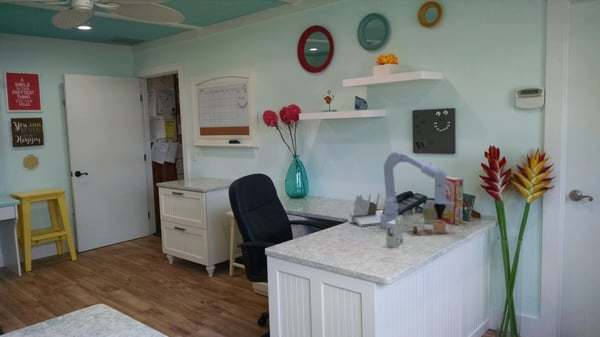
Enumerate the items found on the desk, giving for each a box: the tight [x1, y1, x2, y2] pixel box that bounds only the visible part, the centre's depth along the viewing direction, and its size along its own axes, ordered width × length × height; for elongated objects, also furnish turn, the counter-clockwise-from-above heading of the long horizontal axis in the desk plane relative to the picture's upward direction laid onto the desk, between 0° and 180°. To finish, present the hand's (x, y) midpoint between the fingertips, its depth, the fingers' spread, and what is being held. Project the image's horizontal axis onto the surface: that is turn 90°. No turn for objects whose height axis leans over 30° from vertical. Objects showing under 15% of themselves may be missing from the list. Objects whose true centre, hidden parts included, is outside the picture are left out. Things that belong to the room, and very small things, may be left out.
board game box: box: [436, 175, 464, 226], centre depth 268 cm, size 20×6×27 cm, turn 16°
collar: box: [432, 220, 447, 232], centre depth 239 cm, size 6×6×4 cm
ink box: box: [385, 214, 404, 248], centre depth 218 cm, size 9×5×15 cm, turn 141°
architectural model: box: [349, 191, 400, 228], centre depth 269 cm, size 20×29×21 cm
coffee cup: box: [421, 197, 438, 225], centre depth 261 cm, size 10×10×15 cm
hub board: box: [404, 225, 451, 237], centre depth 238 cm, size 21×12×6 cm, turn 97°
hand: (439, 218), depth 240 cm, fingers closed
